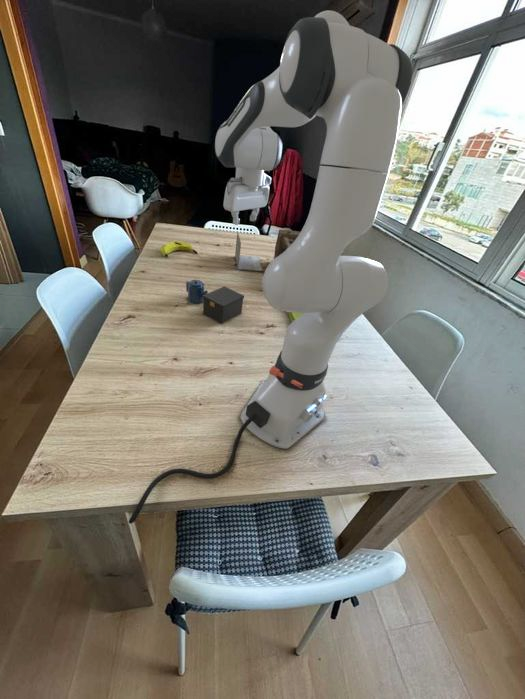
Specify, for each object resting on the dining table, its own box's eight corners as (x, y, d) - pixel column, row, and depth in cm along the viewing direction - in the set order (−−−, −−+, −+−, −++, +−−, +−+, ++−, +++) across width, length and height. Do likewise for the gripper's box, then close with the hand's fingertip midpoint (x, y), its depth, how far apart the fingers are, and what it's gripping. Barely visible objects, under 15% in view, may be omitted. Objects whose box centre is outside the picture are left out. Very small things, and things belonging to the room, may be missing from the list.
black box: (221, 324, 101) (222, 306, 97) (201, 314, 105) (201, 295, 101) (242, 313, 110) (244, 295, 105) (223, 303, 113) (224, 286, 109)
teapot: (180, 297, 112) (180, 278, 108) (192, 292, 117) (192, 274, 112) (201, 308, 108) (201, 288, 104) (212, 302, 113) (213, 284, 108)
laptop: (262, 271, 144) (266, 245, 136) (237, 269, 141) (240, 242, 134) (257, 258, 158) (261, 233, 150) (234, 256, 155) (237, 231, 148)
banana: (155, 246, 138) (184, 259, 137) (174, 235, 151) (200, 246, 150) (155, 255, 141) (183, 267, 140) (173, 244, 154) (199, 254, 153)
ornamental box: (315, 298, 135) (332, 261, 124) (280, 290, 130) (294, 251, 119) (299, 266, 162) (312, 233, 151) (269, 259, 157) (280, 225, 146)
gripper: (236, 180, 85) (232, 229, 93) (274, 178, 99) (268, 221, 108) (220, 175, 87) (217, 223, 96) (259, 174, 102) (254, 216, 110)
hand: (244, 222), depth 102 cm, fingers open, 8 cm apart
